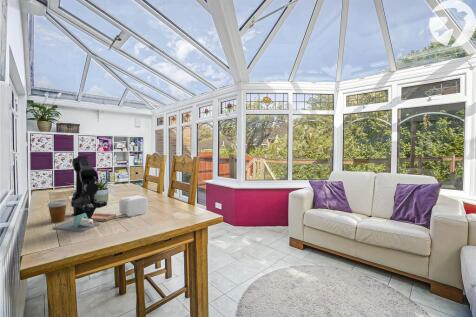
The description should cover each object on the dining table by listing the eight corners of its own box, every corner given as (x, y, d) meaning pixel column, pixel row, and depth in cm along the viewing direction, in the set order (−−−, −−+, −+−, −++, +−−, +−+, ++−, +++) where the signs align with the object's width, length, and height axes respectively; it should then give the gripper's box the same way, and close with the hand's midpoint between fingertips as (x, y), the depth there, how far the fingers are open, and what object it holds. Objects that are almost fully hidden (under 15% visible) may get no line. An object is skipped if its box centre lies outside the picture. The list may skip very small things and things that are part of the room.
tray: (83, 219, 145) (83, 217, 145) (95, 215, 154) (95, 212, 154) (105, 221, 142) (105, 218, 142) (116, 217, 151) (116, 214, 151)
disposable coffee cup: (46, 224, 136) (45, 204, 135) (50, 220, 144) (49, 201, 144) (66, 222, 140) (65, 202, 140) (69, 218, 149) (68, 199, 148)
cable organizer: (126, 218, 148) (126, 200, 148) (119, 215, 155) (118, 198, 154) (148, 213, 160) (148, 196, 159) (140, 210, 167) (140, 194, 166)
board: (53, 229, 129) (52, 227, 129) (70, 222, 140) (70, 221, 140) (83, 231, 125) (83, 230, 125) (99, 225, 136) (99, 223, 136)
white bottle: (72, 225, 131) (72, 218, 131) (78, 224, 135) (78, 217, 135) (88, 227, 128) (89, 220, 129) (94, 225, 132) (95, 218, 132)
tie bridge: (73, 227, 128) (73, 216, 128) (84, 223, 135) (84, 213, 135) (76, 227, 128) (76, 217, 128) (87, 223, 135) (87, 213, 135)
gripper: (61, 193, 123) (62, 222, 124) (90, 194, 120) (91, 224, 121) (79, 189, 134) (80, 215, 135) (107, 190, 131) (108, 217, 131)
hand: (89, 218), depth 130 cm, fingers closed
